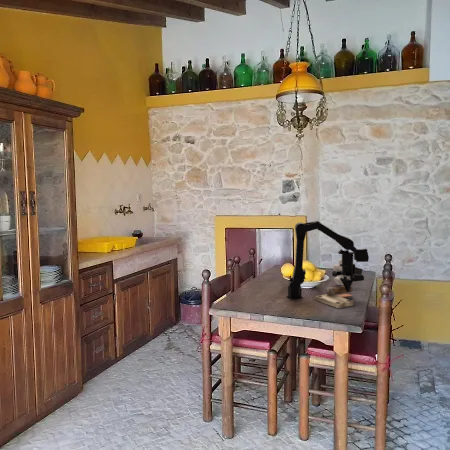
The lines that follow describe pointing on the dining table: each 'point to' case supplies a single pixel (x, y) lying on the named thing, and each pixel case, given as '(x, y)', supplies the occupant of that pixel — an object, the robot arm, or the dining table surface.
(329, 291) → the walnut leg
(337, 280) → the figurine
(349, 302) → the birch seat
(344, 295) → the marker strip
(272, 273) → the dining table surface
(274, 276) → the dining table surface
